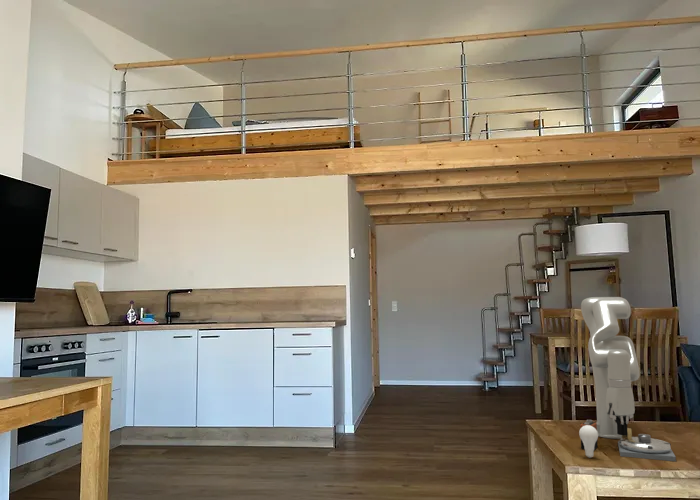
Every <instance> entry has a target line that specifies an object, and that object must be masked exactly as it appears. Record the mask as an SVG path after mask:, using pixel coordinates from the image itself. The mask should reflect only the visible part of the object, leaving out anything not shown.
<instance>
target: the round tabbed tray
mask: <svg viewBox="0 0 700 500" xmlns="http://www.w3.org/2000/svg"><path fill="white" fill-rule="evenodd" d="M632 431H633V430H632V428H629V427H627V432H628V435H625V436H623V435H622V438H621V439H619V441H620V446H621V447H623V448H625V449H628V450H631V451H636V452H643V453H668V452H670V451H671V450H672V448H671V445H672V444H671V443H670V442H668V441H664V440H662V439H657V438H652V437H651V435H650V434H647V433H638V434H637V435H638V436H633V433H632Z"/></svg>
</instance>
